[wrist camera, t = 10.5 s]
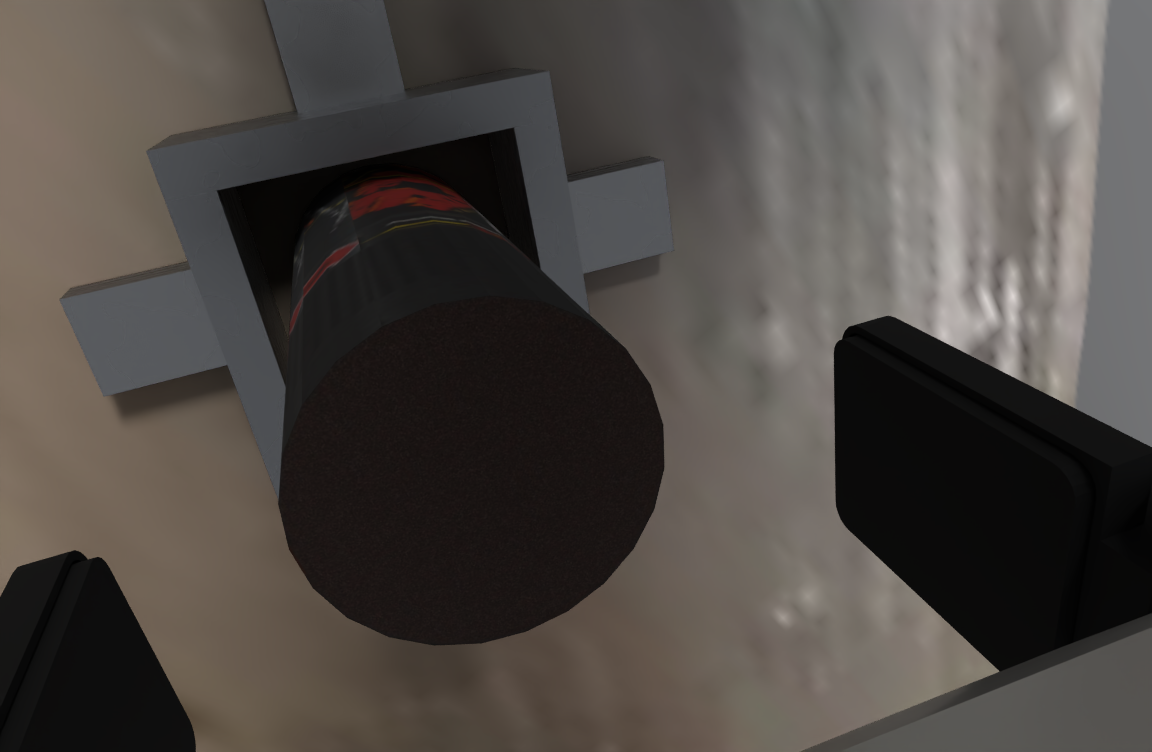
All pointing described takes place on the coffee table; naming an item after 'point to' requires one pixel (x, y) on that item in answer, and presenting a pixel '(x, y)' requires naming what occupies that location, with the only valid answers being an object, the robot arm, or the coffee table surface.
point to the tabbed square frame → (331, 137)
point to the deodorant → (452, 420)
